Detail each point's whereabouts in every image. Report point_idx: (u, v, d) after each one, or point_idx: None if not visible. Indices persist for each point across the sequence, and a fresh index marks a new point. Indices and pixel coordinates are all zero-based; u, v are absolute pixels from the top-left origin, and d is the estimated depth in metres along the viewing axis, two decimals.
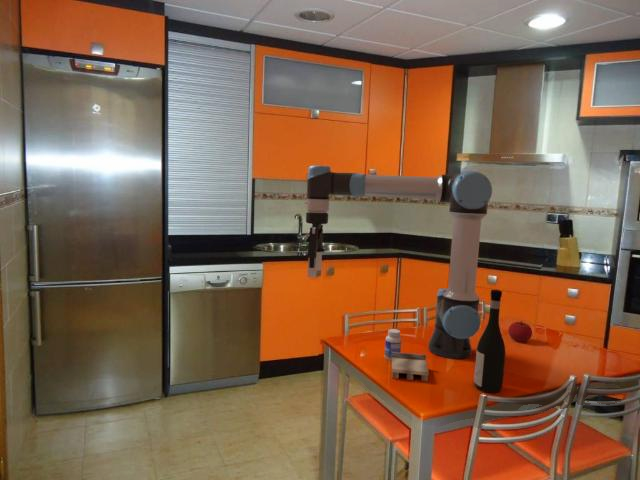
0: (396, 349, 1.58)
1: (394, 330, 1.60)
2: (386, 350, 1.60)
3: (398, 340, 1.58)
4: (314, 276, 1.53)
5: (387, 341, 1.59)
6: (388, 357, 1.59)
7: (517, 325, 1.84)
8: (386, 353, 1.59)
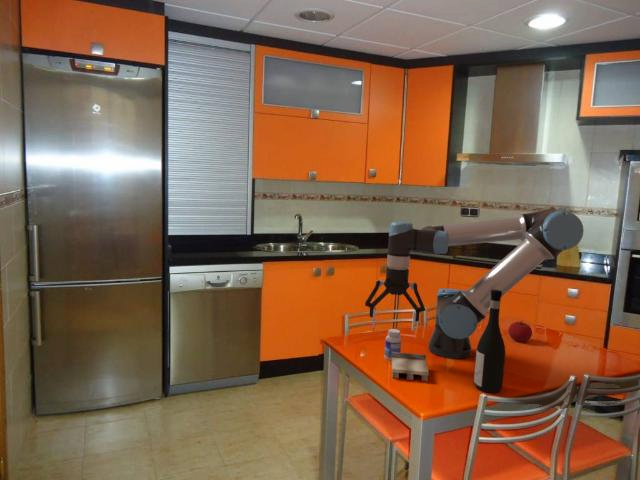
0: (396, 349, 1.58)
1: (394, 330, 1.60)
2: (386, 350, 1.60)
3: (398, 340, 1.58)
4: (372, 326, 1.60)
5: (387, 341, 1.59)
6: (388, 357, 1.59)
7: (517, 325, 1.84)
8: (386, 353, 1.59)
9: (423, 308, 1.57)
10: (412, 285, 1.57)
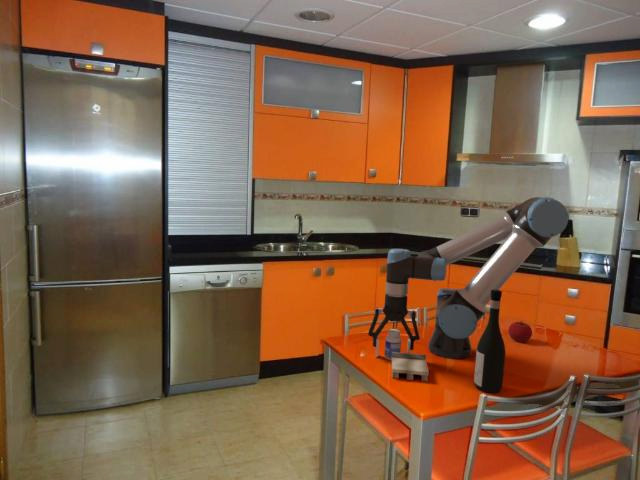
0: (396, 349, 1.58)
1: (394, 330, 1.60)
2: (386, 350, 1.60)
3: (398, 340, 1.58)
4: None
5: (387, 341, 1.59)
6: (388, 357, 1.59)
7: (517, 325, 1.84)
8: (386, 353, 1.59)
9: (418, 337, 1.58)
10: (411, 313, 1.58)
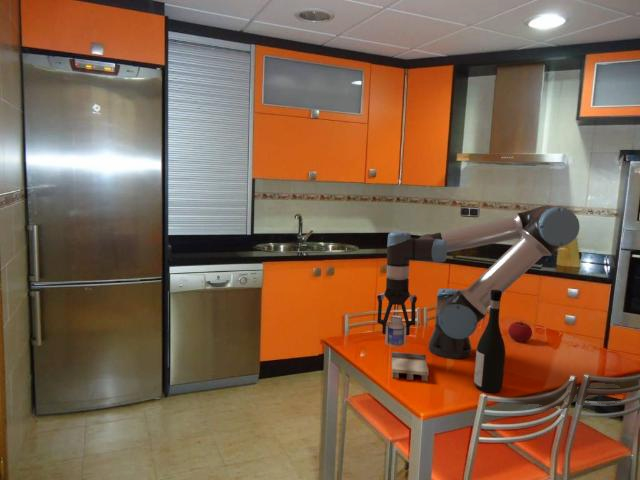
0: (399, 335, 1.57)
1: (396, 316, 1.60)
2: (389, 337, 1.59)
3: (400, 326, 1.57)
4: (385, 343, 1.60)
5: (390, 328, 1.58)
6: (391, 344, 1.58)
7: (517, 325, 1.84)
8: (389, 339, 1.59)
9: (413, 322, 1.57)
10: (412, 297, 1.57)
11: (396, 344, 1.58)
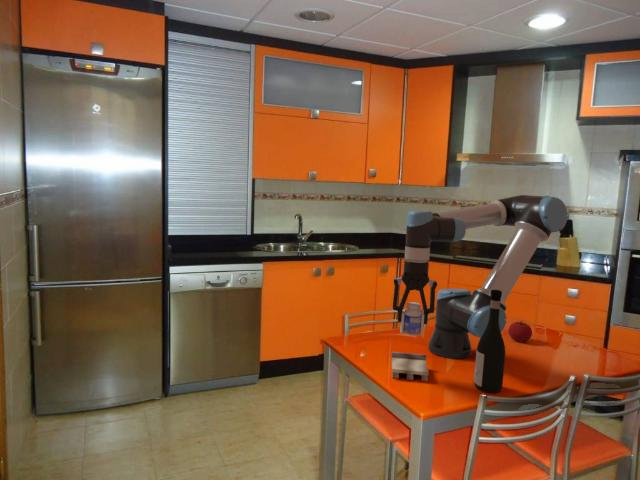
0: (416, 323, 1.44)
1: (413, 303, 1.46)
2: (405, 325, 1.46)
3: (418, 313, 1.44)
4: (400, 331, 1.46)
5: (406, 315, 1.45)
6: (407, 332, 1.45)
7: (517, 325, 1.84)
8: (405, 328, 1.45)
9: (432, 310, 1.44)
10: (432, 282, 1.44)
11: (413, 333, 1.44)
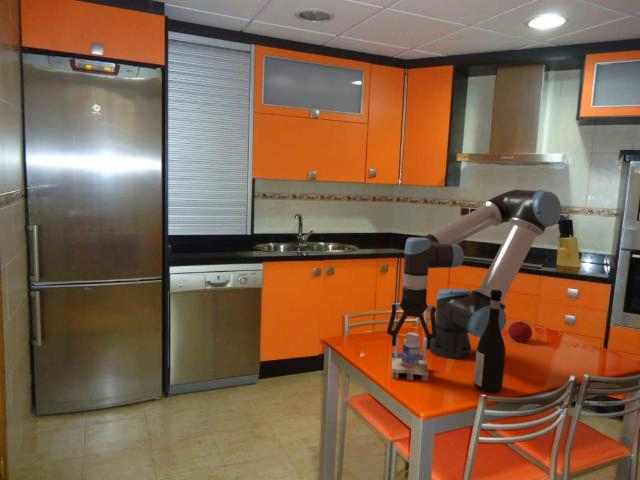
0: (415, 355, 1.45)
1: (412, 334, 1.47)
2: (404, 355, 1.47)
3: (417, 345, 1.45)
4: (395, 355, 1.48)
5: (405, 346, 1.46)
6: (406, 363, 1.46)
7: (517, 325, 1.84)
8: (404, 358, 1.47)
9: (435, 335, 1.45)
10: (430, 308, 1.45)
11: (412, 364, 1.46)
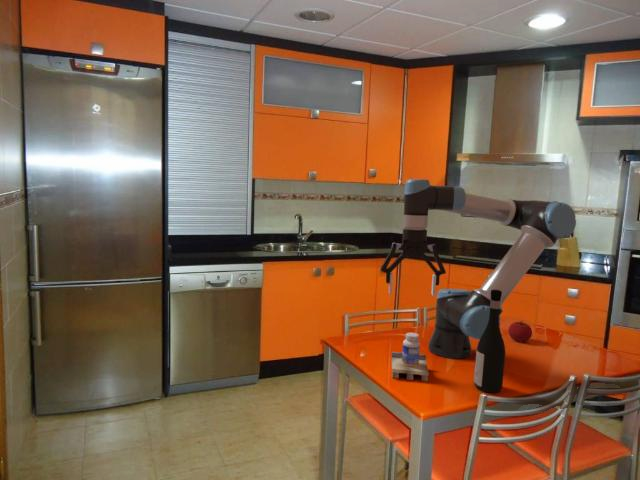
0: (415, 354, 1.45)
1: (412, 334, 1.48)
2: (404, 355, 1.47)
3: (417, 345, 1.45)
4: (389, 292, 1.49)
5: (405, 346, 1.46)
6: (406, 363, 1.46)
7: (517, 325, 1.84)
8: (404, 358, 1.47)
9: (443, 270, 1.46)
10: (431, 246, 1.47)
11: (412, 364, 1.46)
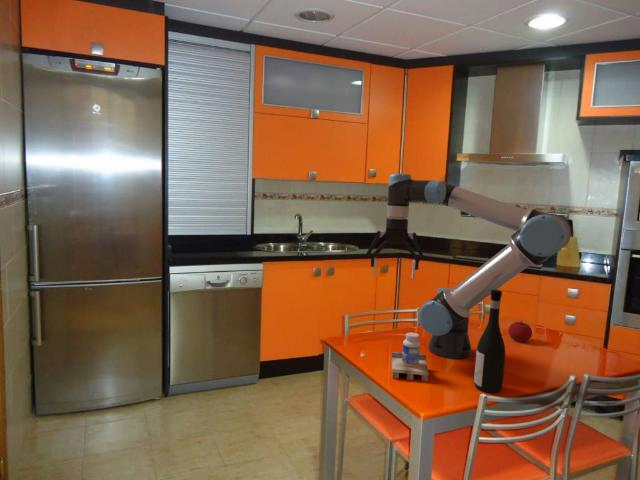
0: (415, 354, 1.45)
1: (412, 334, 1.48)
2: (404, 355, 1.47)
3: (417, 345, 1.45)
4: (373, 275, 1.66)
5: (405, 346, 1.46)
6: (406, 363, 1.46)
7: (517, 325, 1.84)
8: (404, 358, 1.47)
9: (422, 256, 1.63)
10: (411, 234, 1.63)
11: (412, 364, 1.46)
